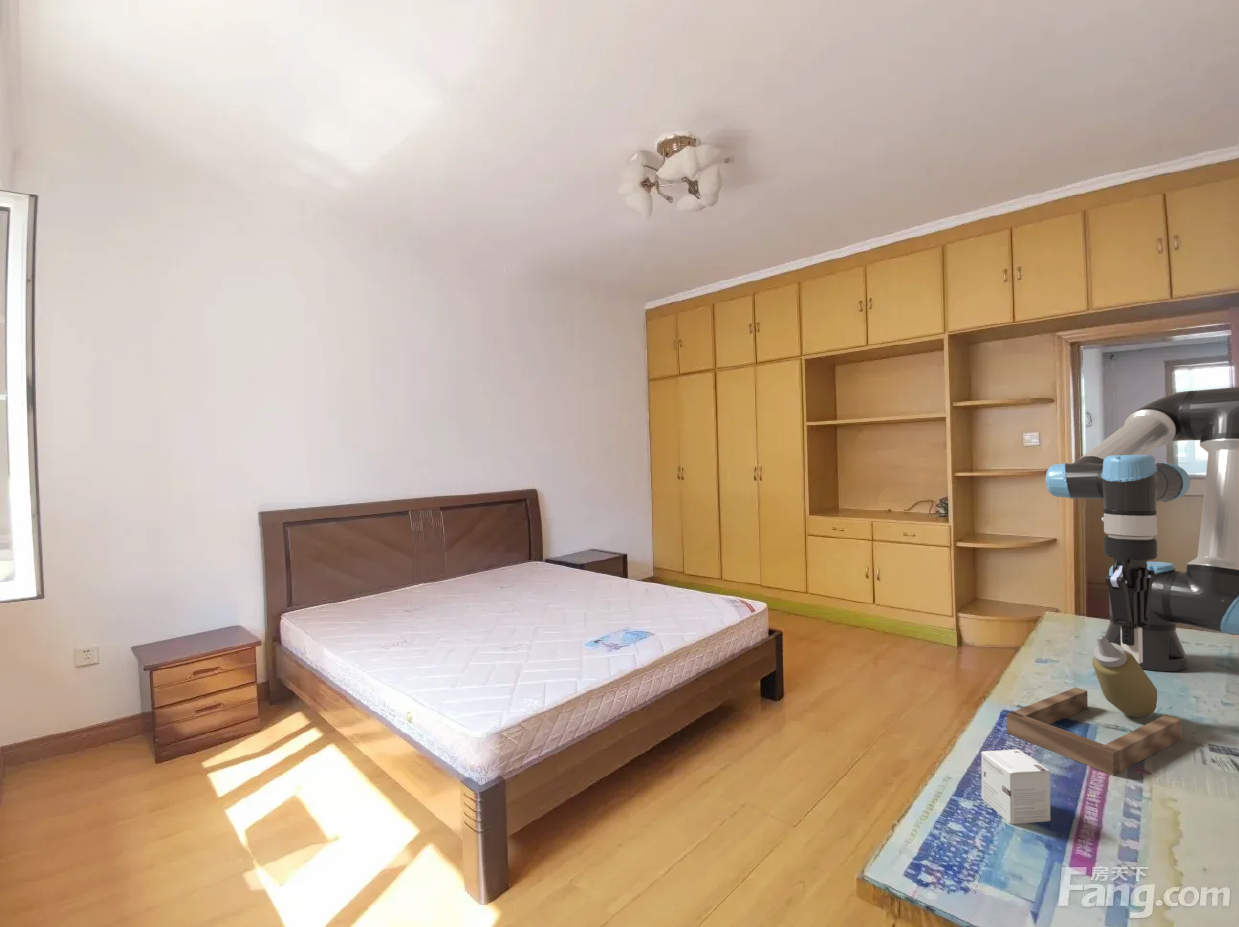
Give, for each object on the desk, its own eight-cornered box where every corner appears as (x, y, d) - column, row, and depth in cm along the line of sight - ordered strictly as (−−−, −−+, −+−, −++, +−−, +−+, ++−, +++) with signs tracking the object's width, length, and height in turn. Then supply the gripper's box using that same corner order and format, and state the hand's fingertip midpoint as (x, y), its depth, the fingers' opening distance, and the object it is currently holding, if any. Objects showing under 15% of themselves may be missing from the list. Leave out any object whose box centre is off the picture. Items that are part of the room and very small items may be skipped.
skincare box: (980, 799, 86) (979, 750, 86) (1019, 796, 86) (1018, 747, 86) (1011, 825, 80) (1010, 772, 80) (1052, 822, 80) (1051, 769, 80)
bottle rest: (1075, 704, 115) (1075, 687, 115) (1181, 738, 101) (1181, 718, 101) (1007, 732, 105) (1006, 713, 105) (1113, 775, 90) (1113, 753, 90)
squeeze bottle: (1176, 712, 105) (1140, 642, 101) (1129, 729, 107) (1093, 661, 103) (1142, 681, 112) (1108, 614, 108) (1099, 698, 115) (1064, 633, 110)
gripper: (1122, 531, 115) (1124, 649, 115) (1087, 537, 109) (1090, 660, 109) (1171, 535, 108) (1173, 660, 109) (1137, 541, 102) (1139, 673, 103)
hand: (1131, 660), depth 109 cm, fingers closed
